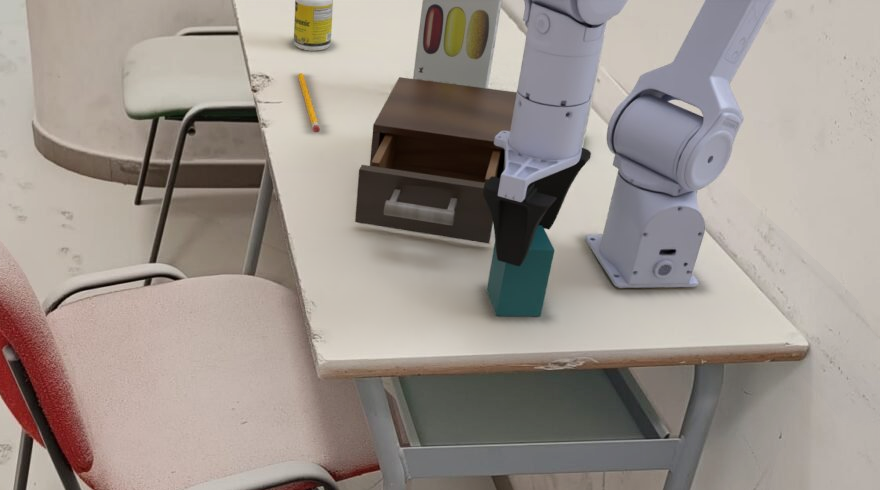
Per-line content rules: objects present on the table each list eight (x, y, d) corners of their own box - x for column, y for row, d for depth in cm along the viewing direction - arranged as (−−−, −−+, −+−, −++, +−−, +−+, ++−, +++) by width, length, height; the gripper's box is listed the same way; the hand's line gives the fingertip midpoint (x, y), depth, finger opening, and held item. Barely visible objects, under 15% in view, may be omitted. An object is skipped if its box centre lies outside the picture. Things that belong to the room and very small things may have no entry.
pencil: (313, 132, 122) (313, 127, 121) (297, 78, 137) (297, 73, 136) (319, 132, 122) (319, 127, 121) (303, 77, 137) (303, 72, 136)
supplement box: (407, 108, 128) (422, -28, 119) (417, 83, 136) (431, -47, 126) (483, 117, 127) (504, -20, 117) (488, 91, 134) (508, -40, 124)
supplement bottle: (287, 41, 148) (289, -27, 143) (320, 37, 150) (323, -31, 145) (303, 53, 144) (306, -17, 139) (337, 49, 146) (341, -20, 141)
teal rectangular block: (540, 316, 90) (554, 249, 86) (496, 316, 89) (508, 249, 86) (529, 290, 93) (542, 225, 89) (486, 289, 93) (497, 224, 89)
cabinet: (503, 211, 106) (515, 144, 102) (367, 190, 109) (373, 124, 105) (516, 155, 118) (527, 93, 113) (393, 138, 121) (399, 76, 116)
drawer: (483, 265, 95) (493, 210, 92) (345, 242, 98) (349, 188, 94) (503, 185, 109) (511, 135, 106) (381, 167, 112) (386, 117, 109)
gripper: (535, 57, 87) (510, 199, 95) (472, 111, 77) (449, 265, 84) (616, 74, 84) (584, 219, 92) (562, 132, 74) (530, 290, 81)
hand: (525, 243), depth 88 cm, fingers open, 7 cm apart
